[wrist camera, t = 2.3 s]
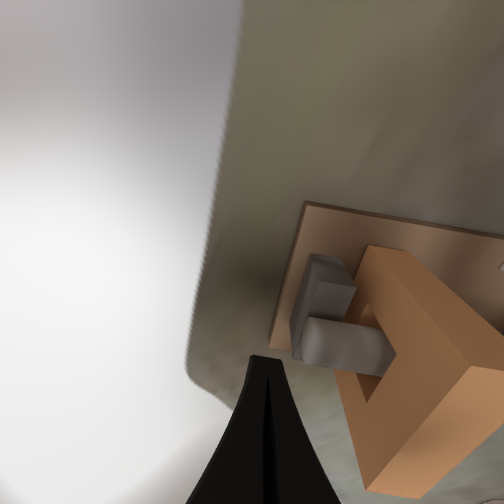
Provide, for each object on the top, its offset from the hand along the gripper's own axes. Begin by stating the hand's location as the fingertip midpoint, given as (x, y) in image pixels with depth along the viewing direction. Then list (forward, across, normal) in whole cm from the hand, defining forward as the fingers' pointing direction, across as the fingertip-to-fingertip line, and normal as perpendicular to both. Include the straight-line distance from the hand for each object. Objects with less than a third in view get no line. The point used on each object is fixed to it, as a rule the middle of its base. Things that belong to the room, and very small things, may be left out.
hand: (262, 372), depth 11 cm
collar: (+7, -7, 0) cm, 10 cm away
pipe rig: (+8, -11, 0) cm, 13 cm away
